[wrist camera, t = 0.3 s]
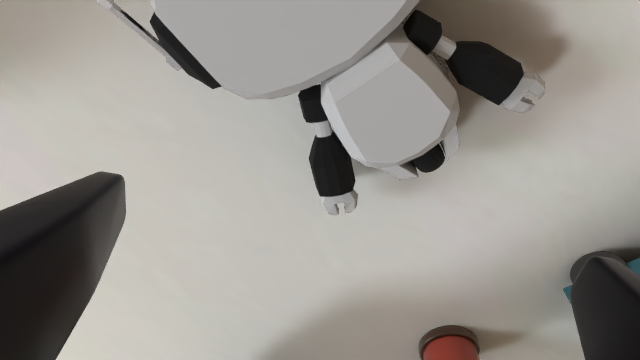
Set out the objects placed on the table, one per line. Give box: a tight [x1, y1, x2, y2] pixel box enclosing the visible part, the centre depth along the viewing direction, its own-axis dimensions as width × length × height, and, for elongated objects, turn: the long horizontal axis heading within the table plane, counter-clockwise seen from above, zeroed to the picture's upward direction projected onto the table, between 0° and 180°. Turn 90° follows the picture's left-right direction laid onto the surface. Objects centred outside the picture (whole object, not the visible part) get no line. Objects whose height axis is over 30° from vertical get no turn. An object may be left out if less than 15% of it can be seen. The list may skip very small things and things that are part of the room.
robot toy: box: [96, 0, 545, 215], centre depth 20 cm, size 12×4×15 cm
